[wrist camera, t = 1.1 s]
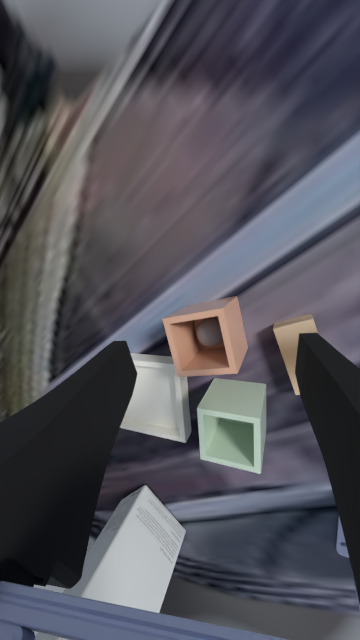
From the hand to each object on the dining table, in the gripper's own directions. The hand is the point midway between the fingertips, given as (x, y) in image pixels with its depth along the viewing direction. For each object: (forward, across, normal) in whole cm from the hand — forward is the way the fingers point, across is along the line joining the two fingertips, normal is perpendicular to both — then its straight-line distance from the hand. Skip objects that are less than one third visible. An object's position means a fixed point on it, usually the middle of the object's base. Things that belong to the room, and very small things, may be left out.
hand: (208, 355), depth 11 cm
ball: (+10, +1, +6) cm, 12 cm away
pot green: (+9, -1, +14) cm, 17 cm away
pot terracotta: (+12, 0, +6) cm, 13 cm away
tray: (+11, +9, +14) cm, 20 cm away
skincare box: (+5, +11, +32) cm, 35 cm away
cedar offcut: (+10, -7, +8) cm, 14 cm away
